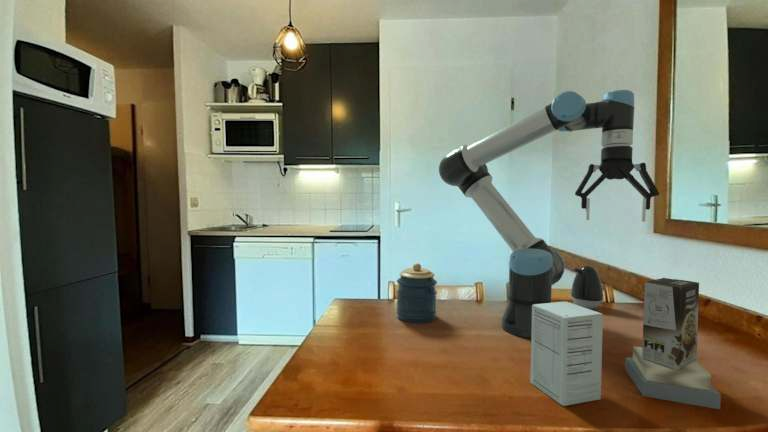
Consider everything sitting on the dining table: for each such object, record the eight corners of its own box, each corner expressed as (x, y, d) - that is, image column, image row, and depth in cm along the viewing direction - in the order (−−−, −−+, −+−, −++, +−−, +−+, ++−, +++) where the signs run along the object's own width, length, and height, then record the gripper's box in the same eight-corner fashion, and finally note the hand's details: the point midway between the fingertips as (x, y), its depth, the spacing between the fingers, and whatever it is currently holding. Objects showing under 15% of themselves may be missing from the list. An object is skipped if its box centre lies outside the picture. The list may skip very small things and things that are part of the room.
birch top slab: (646, 380, 70) (646, 365, 70) (632, 359, 79) (633, 346, 79) (710, 390, 66) (711, 374, 66) (688, 367, 76) (688, 353, 76)
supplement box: (602, 400, 68) (606, 314, 67) (563, 408, 65) (566, 318, 64) (564, 376, 77) (566, 300, 76) (528, 382, 74) (530, 303, 74)
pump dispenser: (564, 303, 133) (565, 263, 132) (589, 302, 134) (591, 262, 133) (582, 311, 123) (583, 268, 122) (609, 310, 124) (611, 268, 123)
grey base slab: (642, 399, 70) (643, 381, 69) (625, 371, 81) (625, 356, 81) (720, 412, 65) (721, 394, 65) (690, 381, 77) (690, 366, 76)
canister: (444, 318, 114) (445, 264, 113) (413, 326, 106) (414, 268, 106) (418, 308, 124) (419, 258, 124) (388, 314, 117) (389, 262, 116)
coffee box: (679, 371, 67) (681, 287, 67) (640, 358, 73) (642, 281, 72) (698, 360, 72) (701, 281, 71) (661, 349, 78) (663, 276, 77)
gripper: (569, 147, 103) (566, 220, 104) (675, 142, 93) (671, 222, 94) (566, 150, 110) (564, 218, 111) (665, 146, 100) (662, 221, 101)
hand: (613, 220), depth 102 cm, fingers open, 13 cm apart
